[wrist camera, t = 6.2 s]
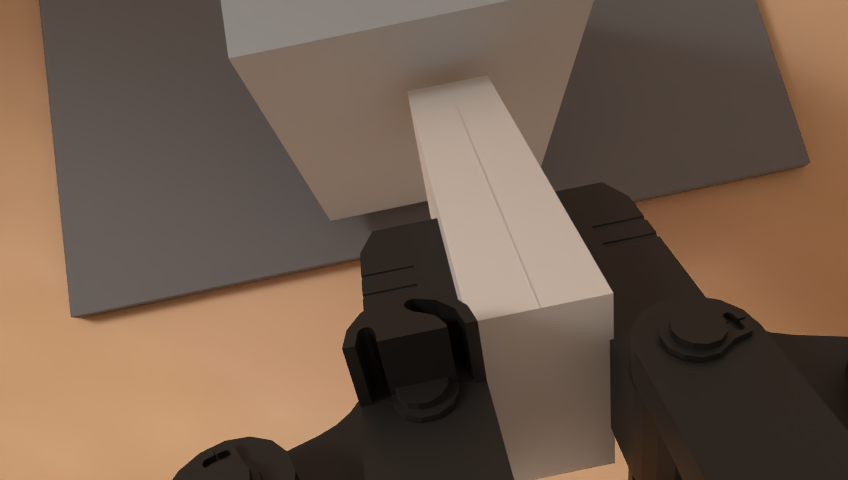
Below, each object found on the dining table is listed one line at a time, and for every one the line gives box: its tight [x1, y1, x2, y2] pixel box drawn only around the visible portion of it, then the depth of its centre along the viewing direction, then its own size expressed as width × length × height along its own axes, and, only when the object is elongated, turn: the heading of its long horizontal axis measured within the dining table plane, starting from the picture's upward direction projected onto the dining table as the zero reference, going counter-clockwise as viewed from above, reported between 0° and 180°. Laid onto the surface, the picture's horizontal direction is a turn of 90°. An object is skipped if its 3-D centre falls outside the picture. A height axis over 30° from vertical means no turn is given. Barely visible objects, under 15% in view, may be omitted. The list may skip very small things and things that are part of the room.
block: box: [221, 0, 594, 221], centre depth 16 cm, size 6×6×9 cm
